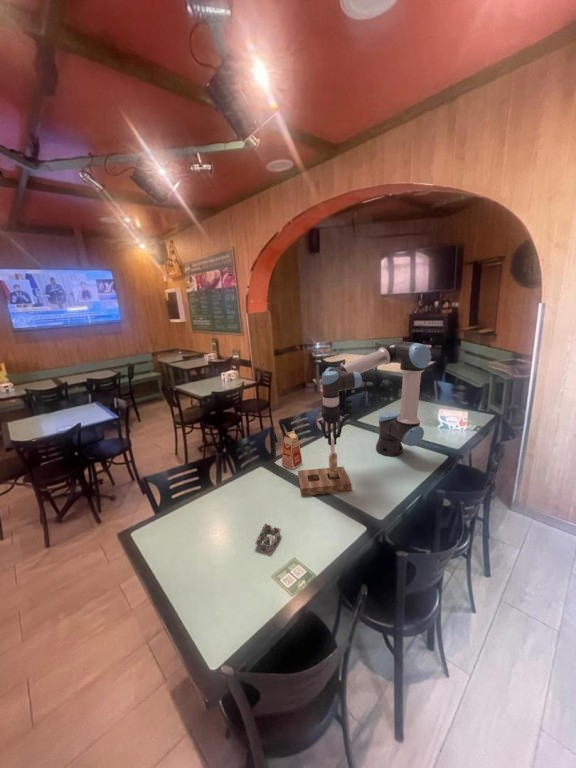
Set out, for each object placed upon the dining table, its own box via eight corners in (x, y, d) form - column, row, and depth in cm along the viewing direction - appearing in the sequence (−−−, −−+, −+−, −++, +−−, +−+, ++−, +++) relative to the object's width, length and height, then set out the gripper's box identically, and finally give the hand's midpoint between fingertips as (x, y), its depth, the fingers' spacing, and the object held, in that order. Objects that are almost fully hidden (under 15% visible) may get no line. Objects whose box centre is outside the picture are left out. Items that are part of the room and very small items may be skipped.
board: (343, 473, 164) (343, 466, 162) (351, 491, 148) (351, 483, 147) (298, 477, 162) (297, 470, 161) (301, 496, 147) (301, 488, 146)
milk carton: (294, 469, 171) (291, 435, 165) (281, 465, 176) (278, 432, 171) (303, 462, 178) (301, 429, 172) (290, 458, 183) (288, 426, 178)
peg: (336, 480, 158) (336, 451, 153) (338, 485, 154) (337, 455, 149) (328, 481, 157) (327, 452, 153) (330, 485, 153) (329, 456, 149)
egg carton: (266, 530, 127) (265, 521, 126) (283, 534, 124) (282, 525, 123) (253, 549, 118) (252, 540, 117) (271, 554, 115) (270, 545, 114)
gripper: (342, 401, 149) (343, 446, 155) (315, 403, 148) (317, 448, 154) (346, 406, 141) (347, 453, 147) (318, 408, 141) (320, 455, 147)
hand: (332, 450), depth 151 cm, fingers closed
